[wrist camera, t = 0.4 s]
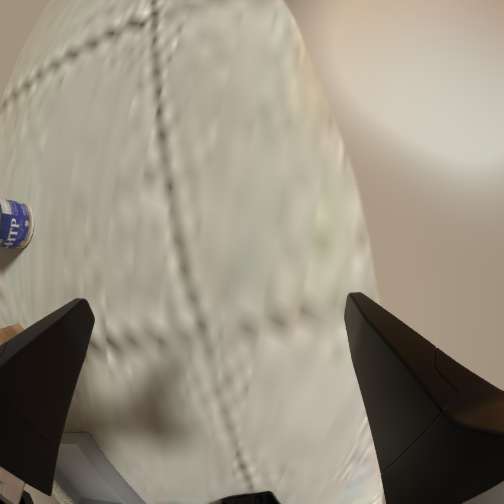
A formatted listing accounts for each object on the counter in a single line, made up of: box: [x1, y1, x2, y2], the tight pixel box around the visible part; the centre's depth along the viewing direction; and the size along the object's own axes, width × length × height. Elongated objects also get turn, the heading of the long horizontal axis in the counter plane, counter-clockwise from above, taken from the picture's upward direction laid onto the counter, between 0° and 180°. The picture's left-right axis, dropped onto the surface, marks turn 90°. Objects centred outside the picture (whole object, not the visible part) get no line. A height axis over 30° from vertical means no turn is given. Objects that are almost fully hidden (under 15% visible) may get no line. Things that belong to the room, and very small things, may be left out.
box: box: [53, 432, 146, 504], centre depth 22 cm, size 14×14×3 cm
